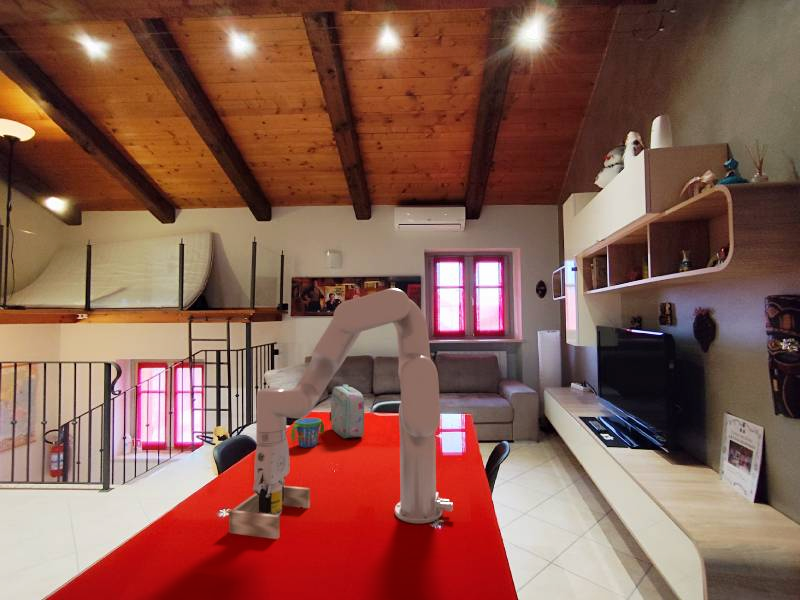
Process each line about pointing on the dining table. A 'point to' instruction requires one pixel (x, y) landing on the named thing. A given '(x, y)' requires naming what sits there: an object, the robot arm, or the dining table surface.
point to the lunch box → (347, 412)
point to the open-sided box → (264, 525)
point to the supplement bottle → (275, 498)
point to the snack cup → (307, 431)
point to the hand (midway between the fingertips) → (271, 505)
